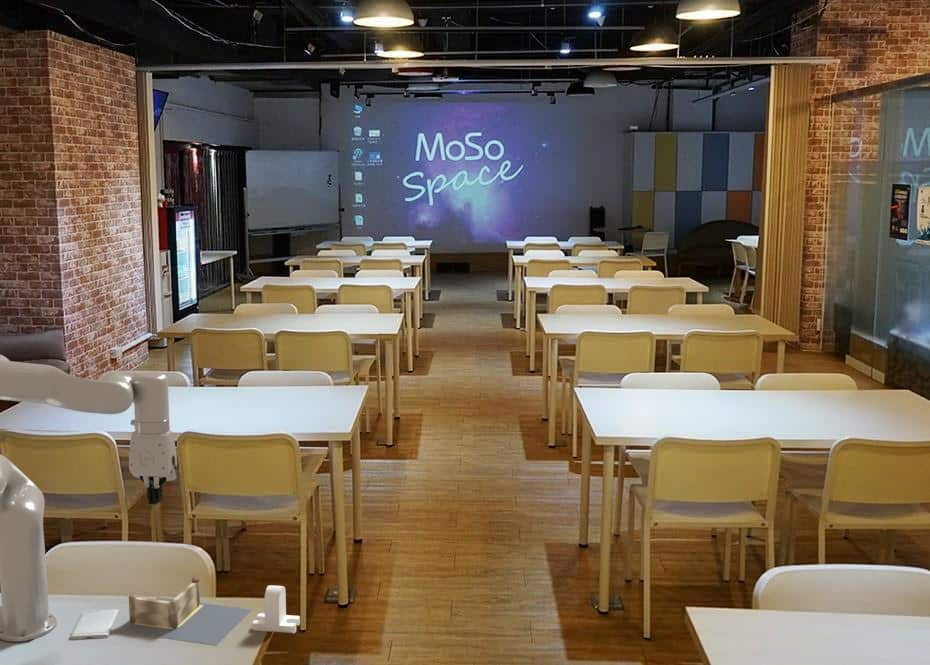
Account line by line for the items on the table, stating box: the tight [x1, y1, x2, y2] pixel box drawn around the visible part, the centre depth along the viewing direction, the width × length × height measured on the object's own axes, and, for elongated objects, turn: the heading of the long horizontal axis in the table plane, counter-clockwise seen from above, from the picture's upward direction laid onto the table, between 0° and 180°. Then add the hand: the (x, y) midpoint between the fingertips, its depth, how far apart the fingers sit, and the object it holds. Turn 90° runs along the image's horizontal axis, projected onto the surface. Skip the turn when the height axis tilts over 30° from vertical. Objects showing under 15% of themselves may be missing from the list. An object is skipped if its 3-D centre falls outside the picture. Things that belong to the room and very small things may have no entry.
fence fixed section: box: [128, 593, 171, 628], centre depth 222 cm, size 10×2×6 cm, turn 77°
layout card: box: [115, 596, 253, 646], centre depth 224 cm, size 25×18×1 cm
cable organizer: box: [252, 584, 301, 634], centre depth 222 cm, size 5×10×10 cm, turn 84°
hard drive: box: [69, 608, 120, 640], centre depth 221 cm, size 2×8×12 cm
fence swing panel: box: [170, 576, 201, 628], centre depth 226 cm, size 13×2×7 cm, turn 170°
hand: (155, 502), depth 225 cm, fingers closed
